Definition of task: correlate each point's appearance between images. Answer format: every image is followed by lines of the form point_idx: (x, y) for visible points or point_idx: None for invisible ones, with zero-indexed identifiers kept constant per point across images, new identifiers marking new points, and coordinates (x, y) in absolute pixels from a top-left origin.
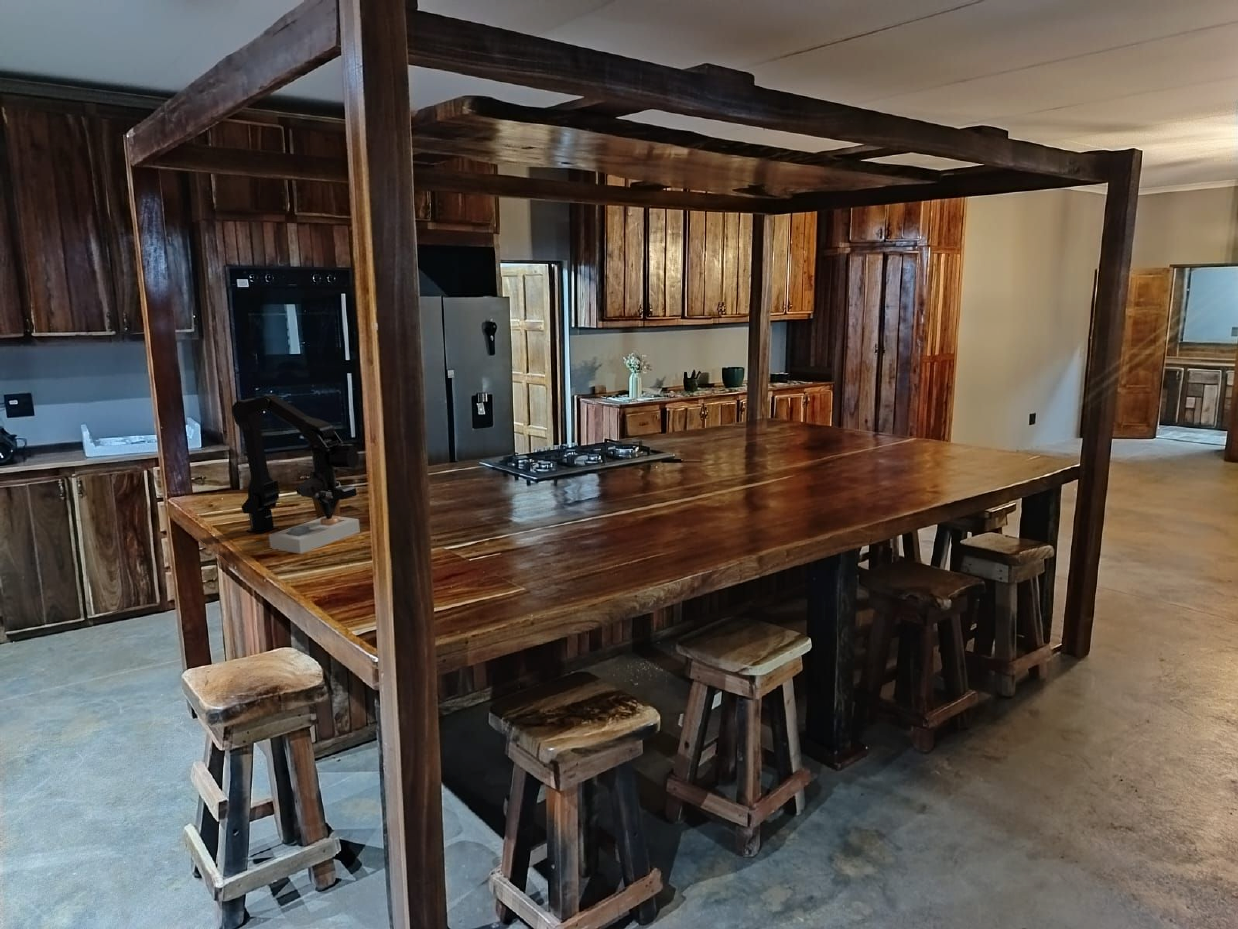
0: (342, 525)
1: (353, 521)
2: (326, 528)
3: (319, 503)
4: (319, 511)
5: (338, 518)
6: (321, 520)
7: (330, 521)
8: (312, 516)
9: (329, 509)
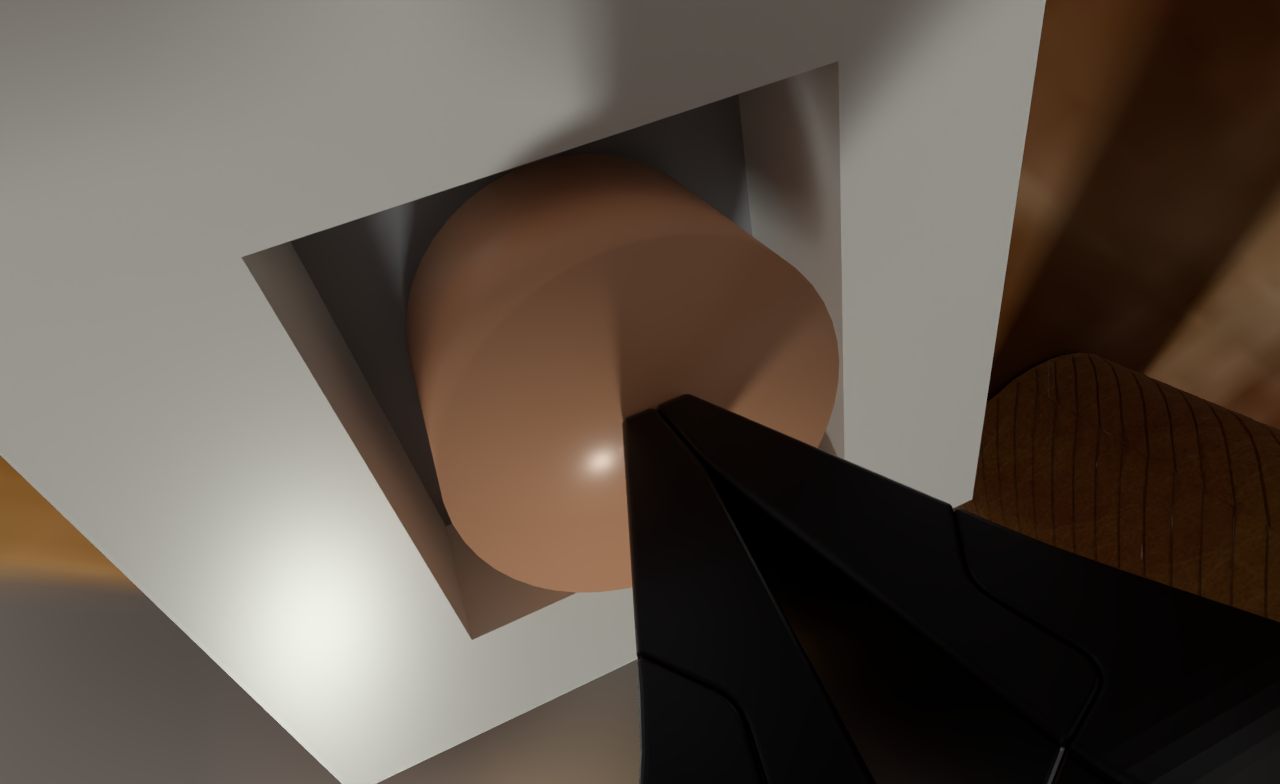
0: (98, 530)
1: (293, 725)
2: None
3: (1205, 618)
4: (1189, 446)
5: None
6: (680, 243)
7: (445, 394)
8: (1252, 386)
9: (644, 672)
